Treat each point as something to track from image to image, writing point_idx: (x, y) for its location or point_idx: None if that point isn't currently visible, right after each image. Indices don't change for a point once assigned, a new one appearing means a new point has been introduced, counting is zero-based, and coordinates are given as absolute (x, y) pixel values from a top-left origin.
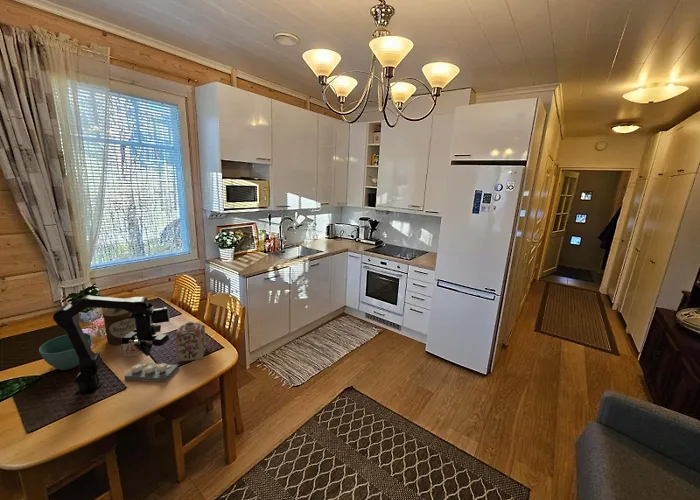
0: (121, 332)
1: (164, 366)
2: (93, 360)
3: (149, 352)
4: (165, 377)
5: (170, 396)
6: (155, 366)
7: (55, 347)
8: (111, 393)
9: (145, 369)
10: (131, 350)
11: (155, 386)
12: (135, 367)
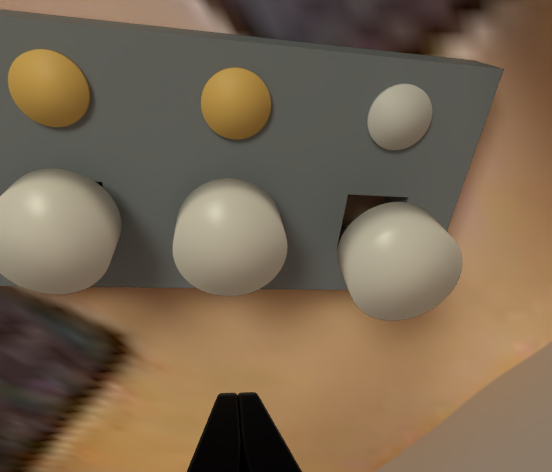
0: None
1: (444, 282)
2: None
3: (280, 449)
4: None
5: (485, 378)
6: (232, 118)
7: None
8: (60, 393)
9: (205, 283)
10: None
11: (348, 312)
12: (38, 256)
